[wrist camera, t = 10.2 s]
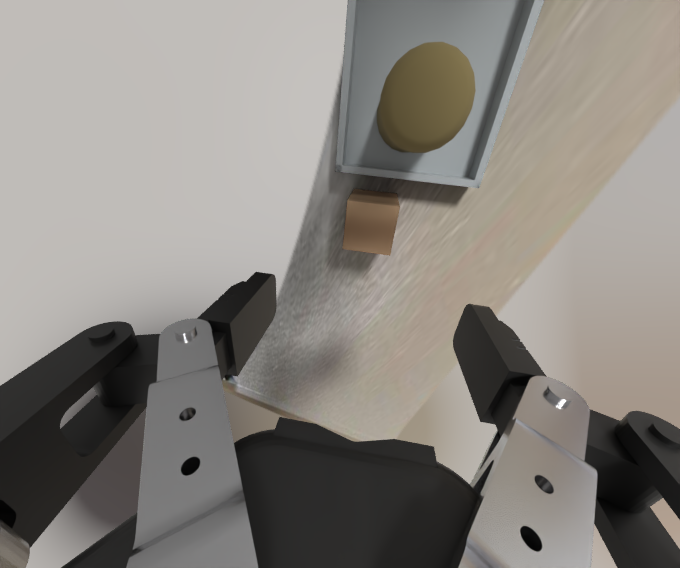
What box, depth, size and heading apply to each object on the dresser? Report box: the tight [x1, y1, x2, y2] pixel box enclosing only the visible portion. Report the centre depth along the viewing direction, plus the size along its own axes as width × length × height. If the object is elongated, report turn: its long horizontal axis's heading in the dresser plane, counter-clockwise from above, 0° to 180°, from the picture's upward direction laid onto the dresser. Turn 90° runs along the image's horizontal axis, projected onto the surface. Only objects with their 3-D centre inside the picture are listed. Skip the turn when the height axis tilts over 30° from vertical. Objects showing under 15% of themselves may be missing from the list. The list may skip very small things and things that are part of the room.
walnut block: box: [343, 189, 400, 255], centre depth 26 cm, size 4×4×6 cm
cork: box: [377, 42, 476, 153], centre depth 18 cm, size 6×6×11 cm
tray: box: [335, 0, 544, 188], centre depth 20 cm, size 18×13×2 cm
